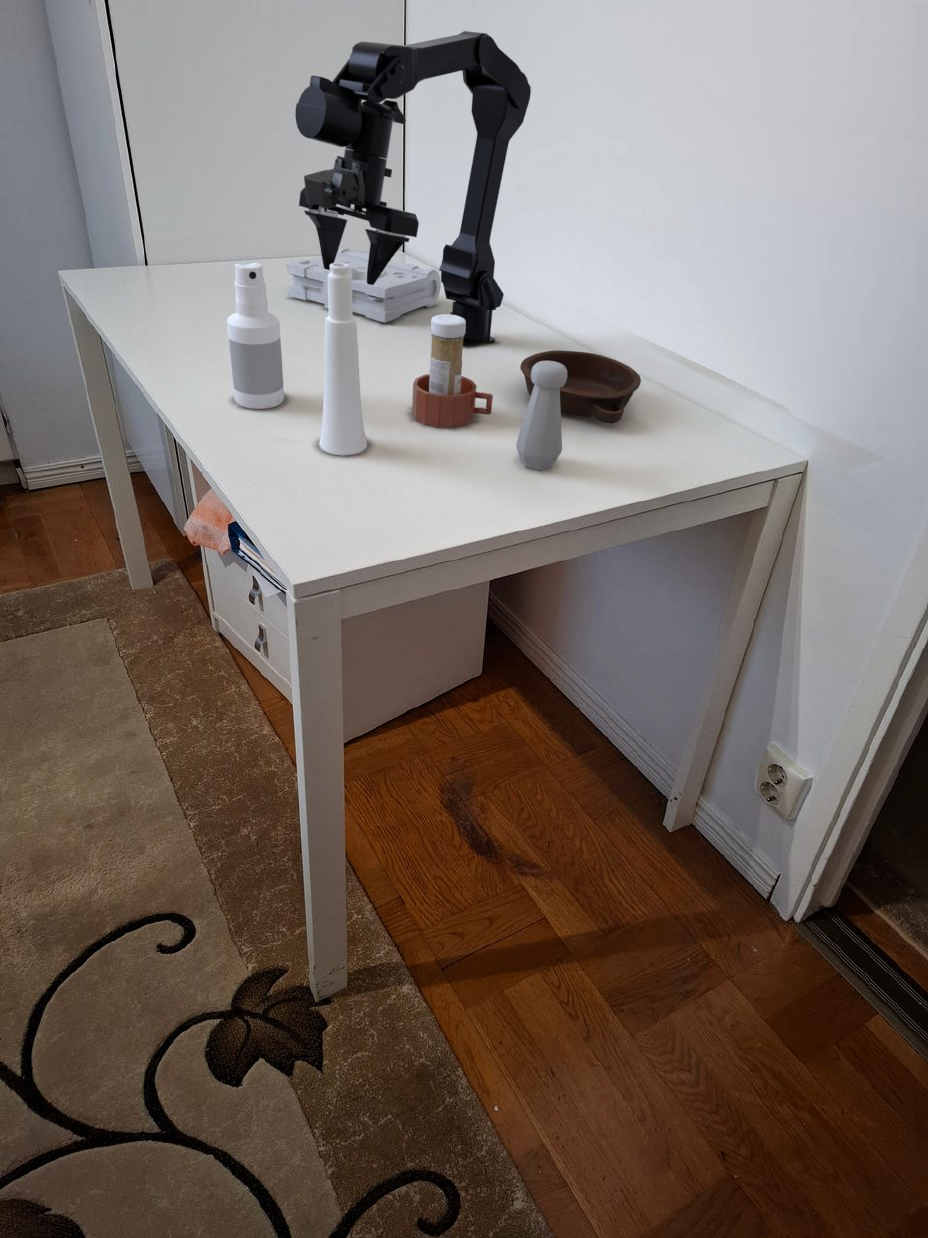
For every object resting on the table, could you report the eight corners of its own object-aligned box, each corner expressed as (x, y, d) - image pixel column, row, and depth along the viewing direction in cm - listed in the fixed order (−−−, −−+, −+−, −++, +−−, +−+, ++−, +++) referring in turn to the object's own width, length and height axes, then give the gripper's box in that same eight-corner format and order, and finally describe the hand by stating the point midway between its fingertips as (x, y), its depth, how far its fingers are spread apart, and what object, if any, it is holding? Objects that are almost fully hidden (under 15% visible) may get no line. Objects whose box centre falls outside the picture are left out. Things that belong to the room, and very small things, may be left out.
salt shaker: (511, 452, 107) (523, 354, 100) (554, 454, 108) (569, 356, 100) (517, 473, 103) (530, 371, 95) (562, 474, 103) (578, 373, 96)
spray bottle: (241, 412, 112) (228, 273, 101) (228, 394, 116) (214, 259, 106) (290, 406, 114) (282, 270, 104) (276, 388, 119) (267, 256, 108)
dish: (555, 438, 112) (560, 403, 109) (493, 379, 128) (496, 347, 125) (664, 427, 118) (672, 394, 115) (592, 372, 134) (597, 341, 131)
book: (330, 275, 170) (329, 235, 165) (443, 304, 159) (445, 262, 154) (264, 293, 156) (261, 250, 152) (383, 326, 145) (383, 281, 140)
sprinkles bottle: (465, 418, 115) (472, 321, 107) (438, 424, 113) (443, 325, 105) (448, 406, 118) (453, 311, 110) (420, 411, 116) (424, 314, 108)
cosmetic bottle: (371, 454, 104) (371, 271, 91) (323, 457, 103) (316, 272, 89) (362, 434, 109) (361, 257, 96) (316, 437, 107) (308, 257, 94)
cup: (407, 424, 112) (408, 392, 110) (418, 400, 119) (419, 369, 117) (487, 433, 112) (490, 401, 109) (493, 408, 119) (496, 378, 116)
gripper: (274, 131, 109) (261, 256, 116) (369, 153, 100) (350, 288, 107) (337, 148, 117) (322, 264, 124) (431, 169, 108) (409, 294, 115)
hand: (348, 276), depth 117 cm, fingers open, 9 cm apart
